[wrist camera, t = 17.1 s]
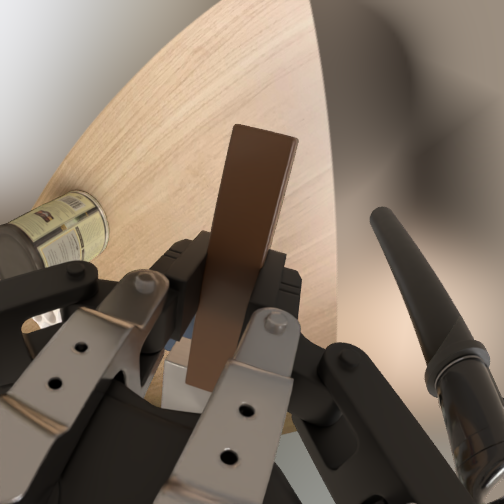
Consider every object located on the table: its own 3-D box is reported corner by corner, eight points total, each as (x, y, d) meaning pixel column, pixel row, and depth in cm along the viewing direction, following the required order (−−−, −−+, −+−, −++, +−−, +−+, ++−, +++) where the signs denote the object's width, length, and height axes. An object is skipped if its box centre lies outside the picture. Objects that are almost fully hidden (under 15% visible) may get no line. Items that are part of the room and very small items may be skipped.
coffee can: (66, 255, 43) (5, 300, 31) (52, 191, 39) (-19, 226, 27) (116, 259, 42) (53, 314, 29) (103, 188, 37) (26, 226, 25)
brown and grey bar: (218, 120, 11) (190, 115, 8) (334, 148, 11) (343, 151, 8) (169, 424, 18) (153, 458, 15) (234, 445, 18) (224, 482, 15)
